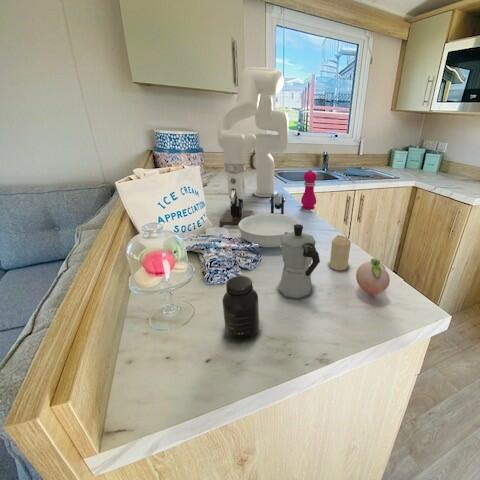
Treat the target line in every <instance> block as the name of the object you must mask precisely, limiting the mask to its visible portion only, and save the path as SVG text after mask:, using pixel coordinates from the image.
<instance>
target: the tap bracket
mask: <svg viewBox="0 0 480 480" xmlns="http://www.w3.org/2000/svg"><path fill="white" fill-rule="evenodd" d="M269 202H270V213H272V214H275V206H274V205H275V196H274V194H271V197H269ZM280 203H281V209H280V214H282V215H285V213H284V212H285V203H286V198H285V194H281V196H280Z"/></svg>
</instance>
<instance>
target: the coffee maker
mask: <svg viewBox="0 0 480 480" xmlns="http://www.w3.org/2000/svg"><path fill="white" fill-rule="evenodd" d="M303 231H304V225H303V224H301V223H300V224H296V225H294V232H295V233H288V232H284V235H283V236H281V237H280V239H281V246H280V247H281V252H282V253H281V254H282V261H283V268H282V273H281V279H280V283H279V288H278V290H279V292H280V293H281V294H282V295H283V297H285V298H291V299H298V300H299V299H301V298H304V297H307V296H309V295H311V291H312V286H313V285H312V278H311V275H312V273H313V272H314V271H315V269H316V268H317V266H318V265H319V264H320V262H321V260H320V254H319V252H318V250H317V247H316V240H315V238H314V236H313V235H312V234H308V233H305V232H303Z"/></svg>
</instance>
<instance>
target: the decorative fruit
mask: <svg viewBox="0 0 480 480" xmlns="http://www.w3.org/2000/svg"><path fill="white" fill-rule="evenodd" d="M355 280H356V283H357V285H358V287H359V288H360V290H362V291H364V292H365V293H366V294H368V295H379V294H381V293H383V292H384V291H386V290H387V289H388V287H389V286H390V282H391V277H390V274H389V272H388V270H387V269H386V266H385V265H384V264H383V263H381V261H380V259H378V258H375V257H371V259H370V260H368V261H366V262H363V263H361V264H360V265H359V266H358V268H357V270H356V274H355Z"/></svg>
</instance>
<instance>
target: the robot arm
mask: <svg viewBox="0 0 480 480" xmlns="http://www.w3.org/2000/svg"><path fill="white" fill-rule="evenodd" d="M283 86H284V74H283V72H282V70H280V69H279V68H274V67H263V66H247V67H245V68H244V69H243V71H242V72H241V74H240V78H239V83H238V89H237V95H236V101H235V104H234V105H233V106H231V107H229V109H228V110H226V112H224V114H223V115H222V117H221V119H220V122H219V127H218V132H217V143H218V146H219V147H220V149H222V154H223V165H224V166H223V168H224V173H226V174H227V178H226V179H227V193H228V199H229V200H230V204H229V207H230V209H229V210H231V216H239V215H240V212H239V206H238V202H239V201H241V202H242V210H244V203H243V201H244V200H243V198H245V195H246V188H245V187H246V186H245V185H246V184H245V175H244V174H245V173H246V153H252V152H253V151H254V152H255V153H254V154H255V180H256V182H255V183H256V190H254V191H253V195H254V196H255V197H260V198H271V194H274V197H275V196H278V192H277V191H276V190H275V160H274V158H273V156H272V155H271V154H275V155H276V154H277V155H285V154H287V153H288V151H289V117H288V114H287V112H285V111H284V110H279V109H274V108H273V96H275V95H277V94H278V93H280V92H281V90H282V89H283ZM253 116H254V122H255V126H256V128H257V129H259V130H260V131H261V130H262V131H268V132H257V133H256V134H254V133H252V132H251V131H243V130H234V129H232V127H234V125H236V124H237V123H238V122H241V121H243V120H246V119H249V118H251V117H253ZM269 131H270V132H269ZM273 132H277V133H273ZM236 201H237V203H236Z"/></svg>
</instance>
